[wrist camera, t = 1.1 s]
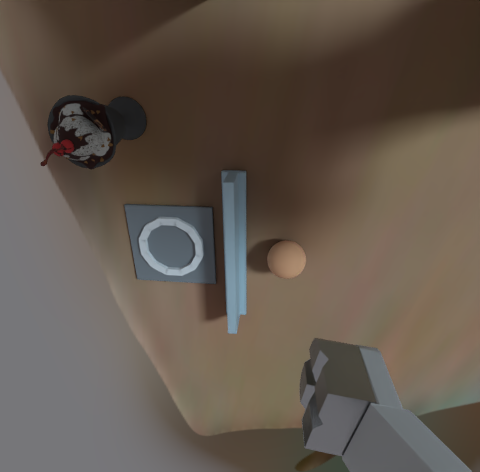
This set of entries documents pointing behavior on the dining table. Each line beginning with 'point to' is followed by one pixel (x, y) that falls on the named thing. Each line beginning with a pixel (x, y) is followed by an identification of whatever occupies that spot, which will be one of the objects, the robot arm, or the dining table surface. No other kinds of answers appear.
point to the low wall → (234, 244)
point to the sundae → (92, 128)
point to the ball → (286, 259)
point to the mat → (172, 242)
